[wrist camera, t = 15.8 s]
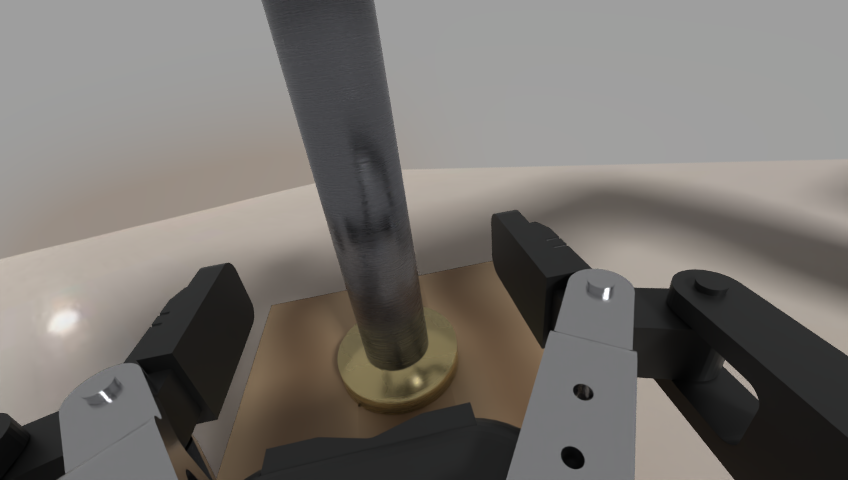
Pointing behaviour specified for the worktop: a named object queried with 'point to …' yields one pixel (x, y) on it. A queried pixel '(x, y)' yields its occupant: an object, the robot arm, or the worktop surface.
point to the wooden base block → (323, 385)
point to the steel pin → (363, 201)
